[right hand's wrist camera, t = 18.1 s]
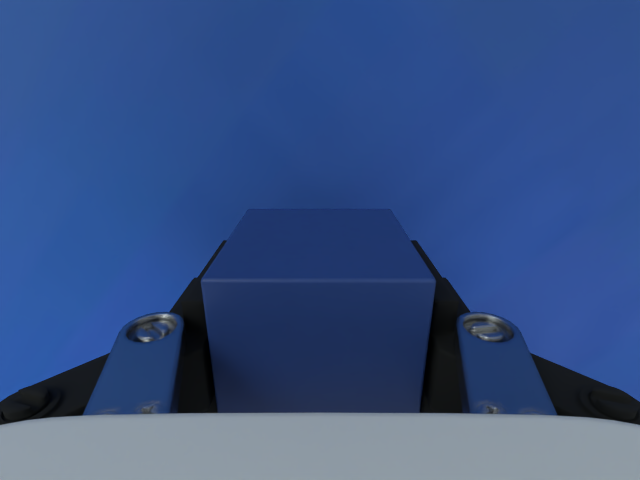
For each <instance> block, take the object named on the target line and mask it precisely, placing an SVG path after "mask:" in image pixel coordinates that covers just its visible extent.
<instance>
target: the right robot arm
mask: <svg viewBox="0 0 640 480" xmlns="http://www.w3.org/2000/svg"><path fill="white" fill-rule="evenodd" d="M410 241H411V242H412V244H413V245H414V247H415V248H416V250H417V251H418V253H419V255H420V256H421V258H422V259H423V261H424V262H425V264H426V265H427V267H428V268H429V270H430V272H431V273H432V275H433V276H434V278H435V280H436V286H435V294H434V302H433V310H432V318H431V326H430V334H429V341H428V349H427V357H426V365H425V373H424V381H423V389H422V397H421V405H420V413H218V411H217V403H216V395H215V387H214V380H213V372H212V364H211V357H210V349H209V341H208V333H207V326H206V318H205V310H204V302H203V295H202V287H201V279H202V277H203V276H204V274H205V273H206V271H207V270H208V268H209V267H210V265H211V264H212V262H213V261H214V260H215V258H216V257H217V255H218V254H219V252H220V251H221V249H222V248H223V246H224V245H225V243H226V242H227V240H224V241H223V242H222V243H221V245H220V246H219V248H218V249H217V250H216V252H215V253H214V255H213V256H212V258H211V259H210V261H209V262H208V263H207V265H206V266H205V268H204V269H203V271H202V272H201V274H200V275H199V276H198V278H194V279H193V280H192V281H191V283H190V284H189V285H188V287H187V288H186V290H185V291H184V292H183V294H182V295H181V297H180V298H179V299H178V301H177V302H176V303H175V305H174V306H173V308H172V309H171V310H170V312H156V313H151V314H146V315H143V316H141V317H138V318H136V319H134V320H132V321H130V322H129V323H127V324H126V325H125V326H124V327H123V328H122V329H121V330H120V332H119V334H118V336H117V338H116V341H115V343H114V345H113V347H112V350H111V352H110V353H108V354H106V355H104V356H101V357H99V358H96V359H94V360H92V361H89V362H87V363H85V364H82V365H80V366H77V367H75V368H73V369H70V370H68V371H65V372H63V373H61V374H58V375H56V376H53V377H51V378H49V379H46V380H44V381H41V382H39V383H37V384H34V385H32V386H29V387H26V388H23V389H20V390H18V392H16V393H14V394H12V395H10V396H8V397H7V398H6V399H4V400H3V401H1V402H0V480H640V402H639V401H637V400H636V399H634V398H633V397H631V396H630V395H628V394H627V393H625V392H623V391H621V390H619V389H617V388H614V387H611V386H608V385H606V384H603V383H601V382H598V381H596V380H594V379H591V378H589V377H586V376H584V375H582V374H579V373H577V372H574V371H572V370H570V369H567V368H565V367H563V366H560V365H558V364H555V363H553V362H551V361H548V360H546V359H543V358H541V357H539V356H536V355H534V354H531V353H530V352H529V350H528V347H527V345H526V343H525V341H524V338H523V336H522V334H521V332H520V330H519V329H518V328H517V327H516V326H515V325H514V324H513V323H511V322H510V321H508V320H506V319H504V318H502V317H499V316H497V315H494V314H489V313H484V312H470V311H469V309H468V308H467V306H466V305H465V304H464V302H463V301H462V300H461V298H460V297H459V295H458V294H457V293H456V291H455V290H454V288H453V287H452V286H451V284H450V283H449V281H448V280H447V279H446V278H442V277H441V275H440V274H439V272H438V271H437V269H436V268H435V267H434V265H433V264H432V262H431V261H430V259H429V258H428V256H427V255H426V254H425V252H424V251H423V249H422V248H421V246H420V245H419V244H418V242H417V241H416V240H410Z"/></svg>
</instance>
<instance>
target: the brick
mask: <svg viewBox="0 0 640 480" xmlns="http://www.w3.org/2000/svg"><path fill="white" fill-rule="evenodd" d="M435 286H436V280H435V278H434V276H433V275H432V273H431V272H430V270H429V268H428V267H427V265H426V264H425V262H424V261H423V259H422V258H421V256H420V255H419V253H418V251H417V250H416V248H415V247H414V245H413V244H412V242H411V241H410V239H409V238H408V236H407V234H406V233H405V231H404V230H403V228H402V227H401V225H400V224H399V222H398V221H397V219H396V217H395V216H394V214H393V213H392V211H391V210H390V209H249V210H247V212H246V213H245V215H244V216H243V218H242V219H241V221H240V222H239V224H238V225H237V227H236V228H235V230H234V231H233V233H232V234H231V236H230V237H229V239H228V240H227V242H226V243H225V245H224V246H223V248H222V249H221V251H220V252H219V254H218V255H217V257H216V258H215V260H214V261H213V262H212V264H211V265H210V267H209V268H208V270H207V271H206V273H205V274H204V276H203V277H202V279H201V287H202V295H203V302H204V310H205V318H206V326H207V333H208V341H209V349H210V357H211V364H212V372H213V380H214V387H215V395H216V403H217V411H218V413H420V405H421V397H422V389H423V381H424V373H425V365H426V357H427V349H428V341H429V334H430V326H431V318H432V310H433V302H434V294H435Z"/></svg>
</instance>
